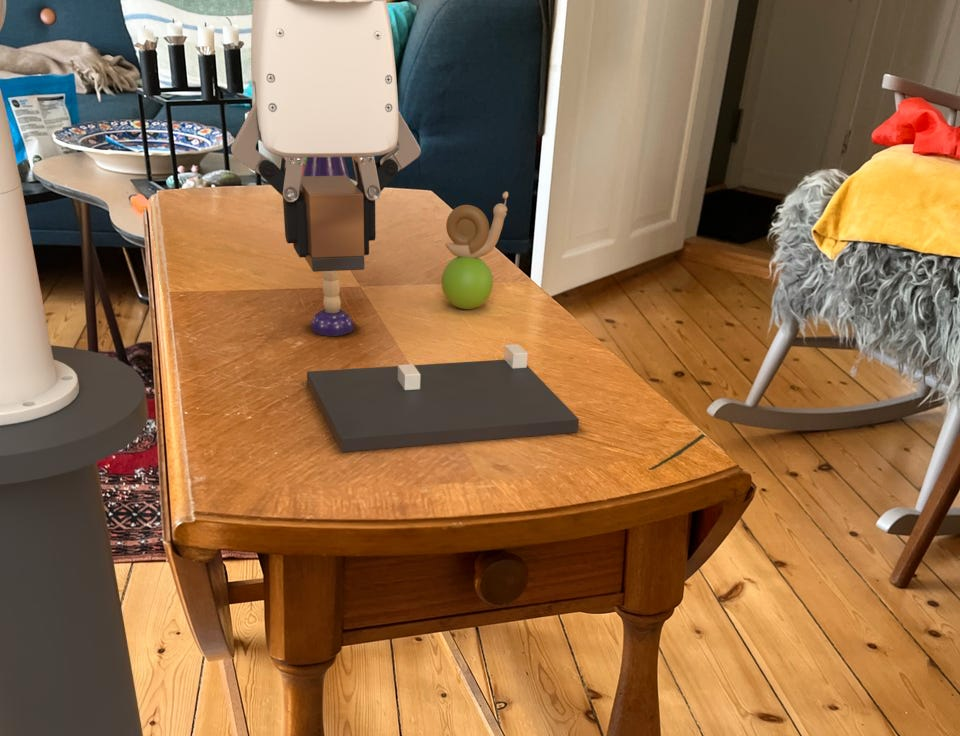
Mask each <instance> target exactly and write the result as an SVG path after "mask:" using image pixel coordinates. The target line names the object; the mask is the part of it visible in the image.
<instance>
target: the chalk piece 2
mask: <svg viewBox="0 0 960 736" xmlns="http://www.w3.org/2000/svg"><path fill="white" fill-rule="evenodd" d="M503 353H504V354H503V360H505V361H506V362H507V363H508V364H509V365H510V366H511V367H512V368H513V369H514V368H526V367H527V366H528V357H529V356H528V355H529V353H528V351H526V350H525V349H524V348H523V347H522V346H521V344H519V343H516V344H515V343H514V344H513V343H512V344H505V345H504V352H503Z"/></svg>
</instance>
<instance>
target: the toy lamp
mask: <svg viewBox="0 0 960 736" xmlns="http://www.w3.org/2000/svg"><path fill="white" fill-rule="evenodd" d="M303 176H347V177H348V178H349V179H350V175H349V172H348V168H347V163H346V161H345V157H306V162H305V167H304V173H303ZM320 273H321V277H322V285H321V286H322V292H323V295H324V296H323V302H322V303H323V308H324V309H321V310H319V311H318V312H316V313H315V314H314V316H313V318H312V320H311V324H310V329H311V331H312V332H313V333H314V334H317V335H320V336H325V337H337V336H344V335H347V334H351V332H353V331H354V329H355V327H354V321H353V319H352V318H351V316H350V315H349V314H348V313H347V312H346V311H344V310H342V309H341V306H342V302H341V298H340V295H339V294H340V290H341V284H340V281H339V277H340V271H320Z"/></svg>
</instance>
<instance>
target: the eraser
mask: <svg viewBox="0 0 960 736" xmlns="http://www.w3.org/2000/svg"><path fill="white" fill-rule="evenodd" d="M356 185H357V184H355V183H354V182H353V181H352V180H351V179H350V177H349V178H348V177H347V176H302V178H301V185H300V190H301V192H302V199H303V200H304V202H305V203H306V210H307V232H308V252H309V254H308V255H307V256H306V257H303V258H304V259H305V261H306V263H307V264H308V267H310V269H311V271H312V272H313V273H315V272H317V273H318V272H321V271H339V272H341V271H342V272H343V271H364V270H365V255H364V203H363V193H362V192H361V191H360V190H359V189H358V188H357V187H356Z"/></svg>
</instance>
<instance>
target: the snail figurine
mask: <svg viewBox="0 0 960 736" xmlns="http://www.w3.org/2000/svg"><path fill="white" fill-rule="evenodd" d="M508 197H509V192H508V191H504V192H503V193H502V199H504V203H501V202H500V203H497V204H496V205H495V206H494V207H493V210H492V211H493V219H492V221H491V222H492V223H491V225H490V222H489V220H488V218H487V216H486V214H485V213H484V212H483V211H482V210H481V209H480V208H479V207H477V206H475V205H471V204H462V205H459V206H457V207H455V208H453V209H452V210H451V212H450V213H449V215H448V216H447V219H446V222H445V223H446V225H445V227H446V228H445V229H446V233H447V236H448V238H449V239H450V240H451V241H452V242H445V243H444V245H445V247H446V248H447V250H448V251H449V252H450V253H451V254H452V255H453V256H454V258H452V260H450V261H449V262H448V263H447V265H446V266H445V267H444V269H443V272H442V275H441V288H442V292H443V295H444V296H445V298H446V299H447V301H448V302H449V303H450V304H451V305H453V306H454V307H456V308H459V309H461V310H462V309H463V310H473V309H476V308H478V307H481V306H482V305H483V304H484V303H486V301H487V300H488V299H489V298H490V296H491V293H492V291H493V287H494V279H493V274H492V271H491V269H490V267H489V265H488V264H487V263H486V262H485V260H483V259H481V258H482V257H484V256H486V255H488V254H490V253H491V252H492V251H493V250H494V248H495V247H496V245H497V244H498V241H499V239H500V237H501V236H500V235H501V232H502V230H503V226H504V221H505V218H506V217H507V212H508V207H507V199H508Z"/></svg>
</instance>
